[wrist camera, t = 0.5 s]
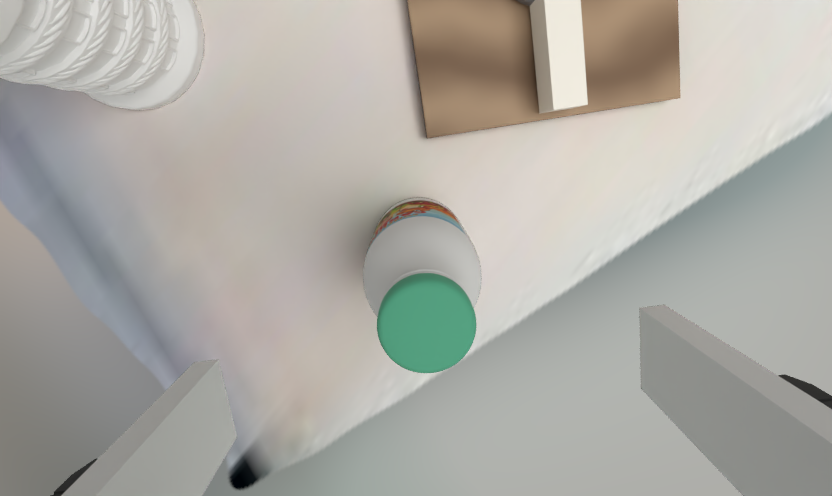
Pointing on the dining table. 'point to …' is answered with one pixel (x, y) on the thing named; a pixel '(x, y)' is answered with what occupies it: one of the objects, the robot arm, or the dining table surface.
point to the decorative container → (104, 48)
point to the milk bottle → (423, 285)
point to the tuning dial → (558, 53)
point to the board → (515, 65)
